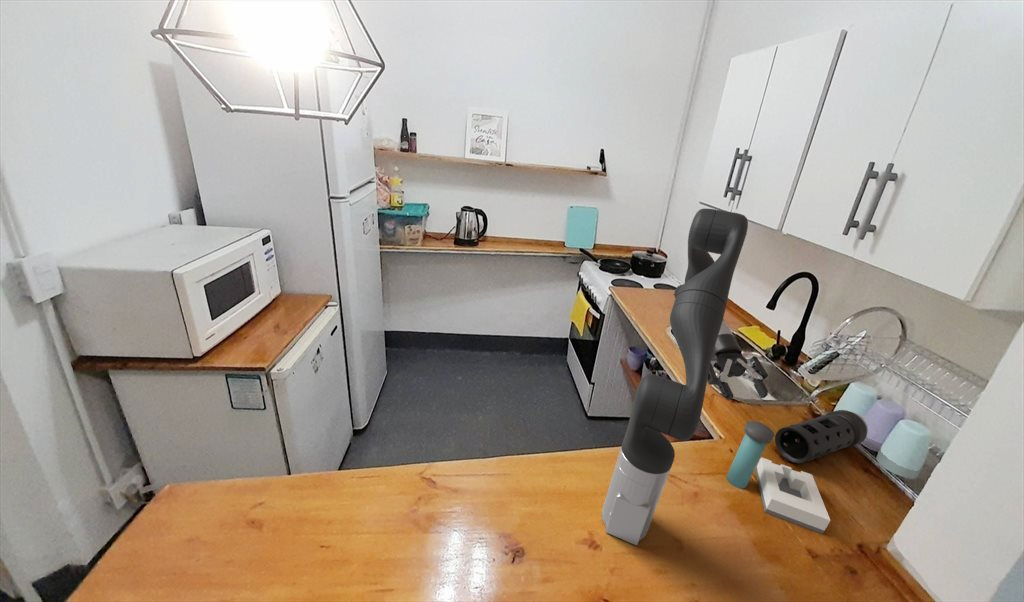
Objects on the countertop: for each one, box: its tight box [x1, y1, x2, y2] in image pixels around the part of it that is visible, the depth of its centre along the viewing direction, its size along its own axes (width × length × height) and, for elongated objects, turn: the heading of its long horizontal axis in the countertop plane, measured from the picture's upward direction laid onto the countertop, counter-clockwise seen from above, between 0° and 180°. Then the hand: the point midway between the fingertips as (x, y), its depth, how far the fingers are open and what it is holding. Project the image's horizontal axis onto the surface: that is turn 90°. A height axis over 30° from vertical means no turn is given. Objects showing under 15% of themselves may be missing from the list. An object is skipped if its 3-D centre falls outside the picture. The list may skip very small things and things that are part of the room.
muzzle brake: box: [774, 409, 869, 465], centre depth 109 cm, size 10×28×10 cm, turn 115°
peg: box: [726, 420, 775, 489], centre depth 93 cm, size 6×6×16 cm
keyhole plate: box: [754, 456, 831, 535], centre depth 92 cm, size 14×11×4 cm
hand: (747, 397), depth 95 cm, fingers open, 8 cm apart
